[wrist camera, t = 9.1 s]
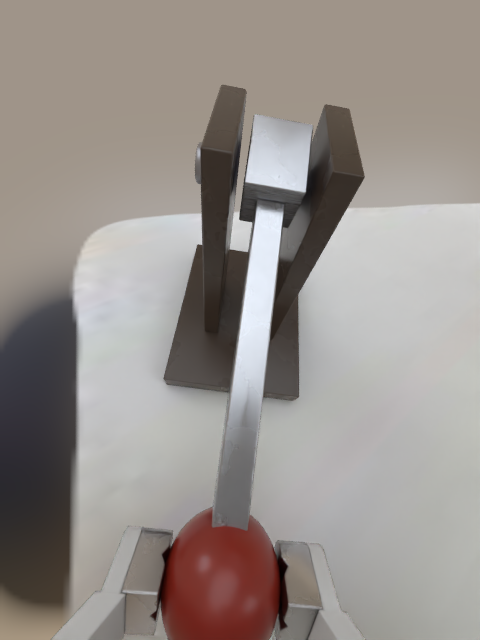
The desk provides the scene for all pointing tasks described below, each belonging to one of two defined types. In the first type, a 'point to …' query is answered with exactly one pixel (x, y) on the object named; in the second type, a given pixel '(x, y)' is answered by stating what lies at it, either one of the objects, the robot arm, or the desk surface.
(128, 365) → the desk surface
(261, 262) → the tap lever
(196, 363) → the block
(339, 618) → the robot arm
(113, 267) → the desk surface
